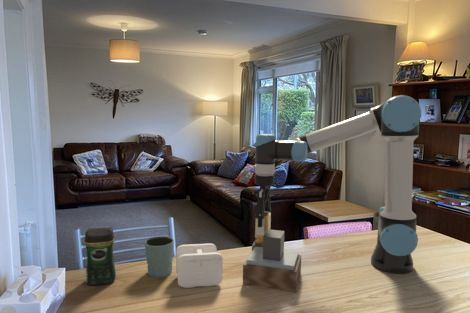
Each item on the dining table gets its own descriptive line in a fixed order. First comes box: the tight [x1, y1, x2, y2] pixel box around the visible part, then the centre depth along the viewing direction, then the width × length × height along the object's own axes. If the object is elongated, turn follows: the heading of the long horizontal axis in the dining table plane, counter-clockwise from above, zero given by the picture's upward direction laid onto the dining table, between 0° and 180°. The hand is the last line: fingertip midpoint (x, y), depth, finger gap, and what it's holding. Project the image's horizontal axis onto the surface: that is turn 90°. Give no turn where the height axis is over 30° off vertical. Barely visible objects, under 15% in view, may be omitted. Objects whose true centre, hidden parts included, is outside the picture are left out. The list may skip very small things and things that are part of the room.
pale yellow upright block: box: [254, 212, 272, 244], centre depth 146 cm, size 5×8×10 cm, turn 164°
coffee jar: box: [83, 226, 117, 286], centre depth 128 cm, size 10×8×19 cm
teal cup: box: [144, 235, 175, 279], centre depth 136 cm, size 10×10×12 cm
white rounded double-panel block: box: [175, 243, 224, 289], centre depth 130 cm, size 15×11×12 cm
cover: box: [246, 228, 299, 270], centre depth 132 cm, size 16×13×10 cm
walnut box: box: [242, 238, 302, 293], centre depth 137 cm, size 18×23×8 cm
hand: (262, 230), depth 148 cm, fingers open, 9 cm apart
